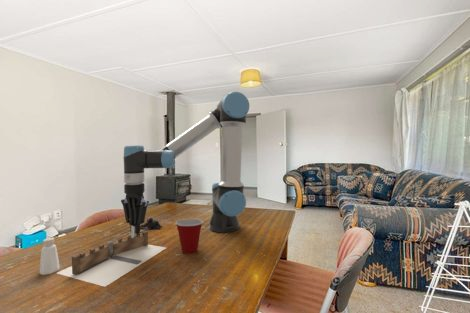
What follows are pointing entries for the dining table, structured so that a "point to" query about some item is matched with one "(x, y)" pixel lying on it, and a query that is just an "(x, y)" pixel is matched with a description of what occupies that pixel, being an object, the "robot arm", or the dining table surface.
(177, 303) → the dining table surface
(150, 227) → the stuffed animal
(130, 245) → the wooden notched wall
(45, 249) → the salt shaker
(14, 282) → the dining table surface
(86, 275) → the card
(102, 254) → the fence fixed
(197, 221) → the plastic cup
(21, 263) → the dining table surface
